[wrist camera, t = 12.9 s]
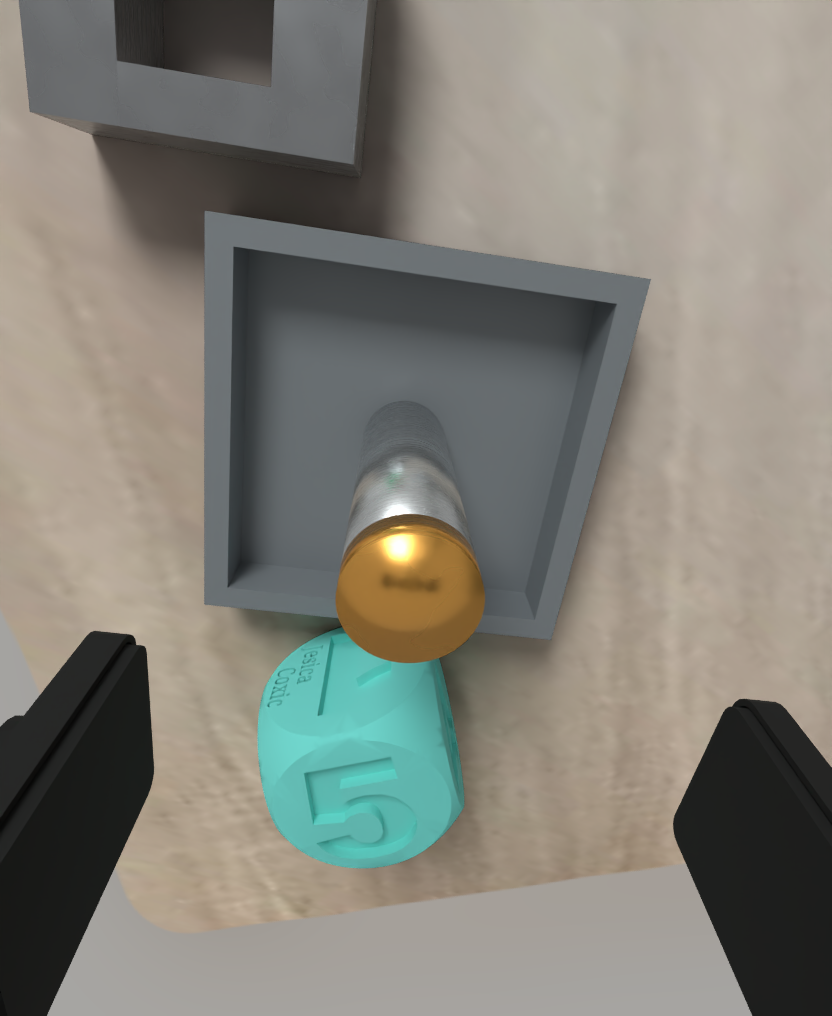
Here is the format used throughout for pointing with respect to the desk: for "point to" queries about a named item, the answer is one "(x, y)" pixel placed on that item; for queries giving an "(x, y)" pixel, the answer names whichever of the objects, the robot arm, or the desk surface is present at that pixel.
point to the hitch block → (206, 82)
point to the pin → (408, 544)
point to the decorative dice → (358, 754)
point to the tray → (400, 377)
